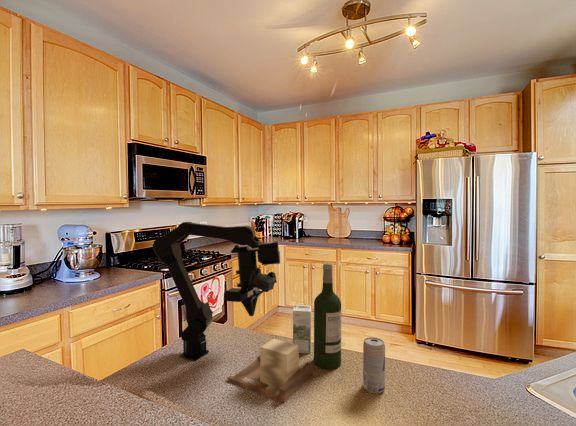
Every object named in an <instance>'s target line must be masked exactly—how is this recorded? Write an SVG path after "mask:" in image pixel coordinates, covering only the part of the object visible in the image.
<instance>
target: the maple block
mask: <svg viewBox="0 0 576 426" xmlns="http://www.w3.org/2000/svg"><path fill="white" fill-rule="evenodd" d="M259 354H260V382H263V383H265V384H268V385H271V386H273V387H276V388H280V387H281V386H283V385H284V384H285V383H286V382H287V381H288V380H289V379H290V378H291V377H292V376H293V375H294V374H295V373H296V372H298V371H299V368H300V364H299V362H300V361H299V360H300V358H299V357H300V353H299V345H295V344H293V342H292V343H290V342H289V341H288V342H287V341H284V340H280V339H277V338H272V339H270V340H269V341H267V342H266V343H264V344H262V345H261V346H260V353H259Z"/></svg>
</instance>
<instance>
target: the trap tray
mask: <svg viewBox="0 0 576 426" xmlns="http://www.w3.org/2000/svg"><path fill="white" fill-rule="evenodd" d="M312 375H313V363H309V362H306V363H305V364H304V365H303V366H302V367H299V371H298V372H296V373H295V374H294V375H293V376H292V377H291V378H290V379H289V380H288V381H287V382H286V383H285V384H284V385H283V386H281V387H280V388H276V387H273V386H271V385H268V384H265V383H263V382H260V355H257V359H256V360H255V361H253V362H252V363H250V364H249V365H247V366H246V367H245V368H243V369H241V370H240V371H239V372H237V373H235V374H234V375H233V376H232V375H228V377H227V379H226V380H227V382H230V383H233V384H235V385H238V386H241V387H243V388H245V389H248V390H250V391H253V392H256V393H258V394H261V395H263V396H267V397H269V398H270V399H273V400H276V401H279V402H281V403H284V404H285V403H286V402H287V401H288V400H289V399H290V398H291V397H292V396H293V395H294V394H295V393H296V392H297V391H298V390H299V389H300V388H301V387H302V386H303V385H304V383H306V381H308V379H309V378H310V377H311V376H312ZM245 378H248V379H250V380H252V381H256V382H257V383H256V384H254V383H252V382H248V381H246V380H244V379H245Z"/></svg>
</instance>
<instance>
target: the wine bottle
mask: <svg viewBox="0 0 576 426" xmlns="http://www.w3.org/2000/svg"><path fill="white" fill-rule="evenodd" d="M333 284H334V281H333V264H332V263H331V262H326V263H325V262H324V263H323V264H322V290H321V292H320V293H319V294H317V296H316V297H315V298H314V300H313V364H314V366H316V367H317V368H319V369H322V370H325V371H331V370H336V369H339V368H340V367H341V366H342V301H341V299H340V298H339V296H338V295H337V294H336V293H335V292H334V287H333Z"/></svg>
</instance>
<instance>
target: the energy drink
mask: <svg viewBox="0 0 576 426" xmlns="http://www.w3.org/2000/svg"><path fill="white" fill-rule="evenodd" d="M362 345H363V347H362V349H363V351H362V354H363V355H362V364H363V365H362V366H363V367H362V376H363V377H362V386H363V388H364V390H365V391H367V392H368V393H371V394H382V393H383V392H384V391H385V389H386V377H385V376H386V345H385V341H384V340H383V339H381V338H378V337H373V336H370V337H369V336H368V337H366V338H364V339H363V344H362Z"/></svg>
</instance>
